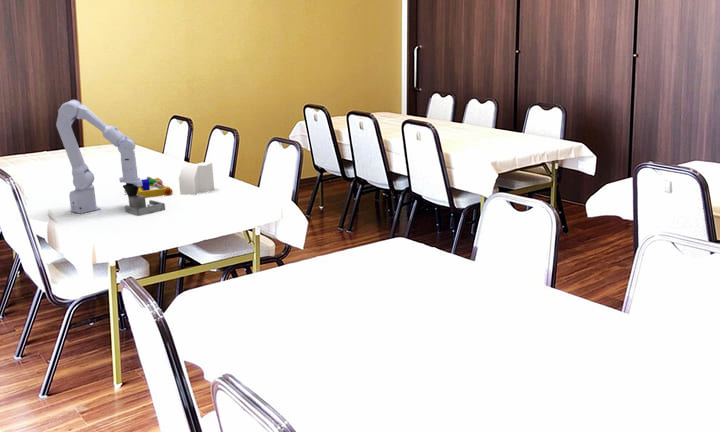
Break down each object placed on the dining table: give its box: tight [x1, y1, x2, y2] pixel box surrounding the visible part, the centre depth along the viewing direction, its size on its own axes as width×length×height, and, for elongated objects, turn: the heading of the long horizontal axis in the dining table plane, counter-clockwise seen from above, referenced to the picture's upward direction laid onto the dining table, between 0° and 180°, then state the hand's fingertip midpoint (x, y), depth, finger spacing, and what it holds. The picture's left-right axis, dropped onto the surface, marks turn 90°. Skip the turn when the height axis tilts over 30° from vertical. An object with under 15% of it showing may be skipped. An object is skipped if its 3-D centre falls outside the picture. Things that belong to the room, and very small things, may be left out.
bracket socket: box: [124, 199, 166, 216], centre depth 311 cm, size 12×11×3 cm
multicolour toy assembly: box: [124, 176, 173, 199], centre depth 347 cm, size 18×6×30 cm
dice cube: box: [127, 195, 147, 209], centre depth 314 cm, size 5×5×5 cm
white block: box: [178, 162, 215, 195], centre depth 341 cm, size 11×11×12 cm
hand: (133, 201), depth 317 cm, fingers closed
